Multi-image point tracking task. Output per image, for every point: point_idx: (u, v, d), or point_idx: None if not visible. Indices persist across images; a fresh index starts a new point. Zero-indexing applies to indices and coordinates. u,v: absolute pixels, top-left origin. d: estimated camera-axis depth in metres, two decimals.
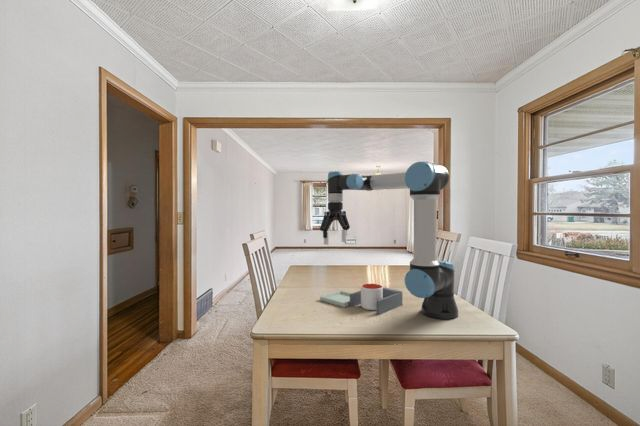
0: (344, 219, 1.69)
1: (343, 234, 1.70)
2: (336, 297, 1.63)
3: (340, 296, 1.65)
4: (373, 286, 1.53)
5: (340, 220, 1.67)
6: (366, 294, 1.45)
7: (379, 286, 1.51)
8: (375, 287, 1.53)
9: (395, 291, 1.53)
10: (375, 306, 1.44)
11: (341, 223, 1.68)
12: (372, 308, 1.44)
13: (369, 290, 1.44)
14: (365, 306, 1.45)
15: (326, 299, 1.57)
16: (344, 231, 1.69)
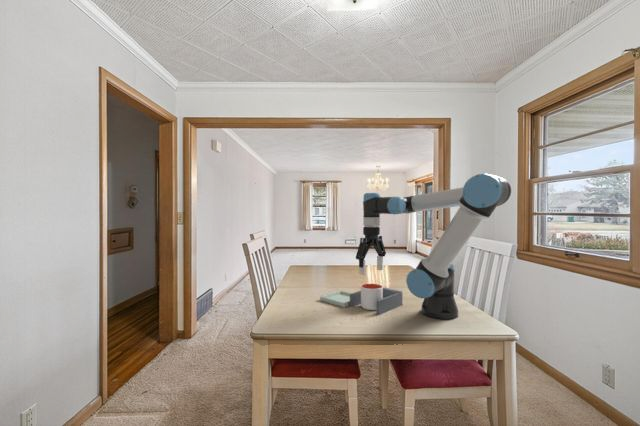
0: (380, 245, 1.53)
1: (379, 261, 1.53)
2: (336, 297, 1.63)
3: (340, 296, 1.65)
4: (373, 286, 1.53)
5: (376, 246, 1.50)
6: (366, 294, 1.45)
7: (379, 286, 1.51)
8: (375, 287, 1.53)
9: (395, 291, 1.53)
10: (375, 306, 1.44)
11: (377, 249, 1.51)
12: (372, 308, 1.44)
13: (369, 290, 1.44)
14: (365, 306, 1.45)
15: (326, 299, 1.57)
16: (380, 258, 1.52)
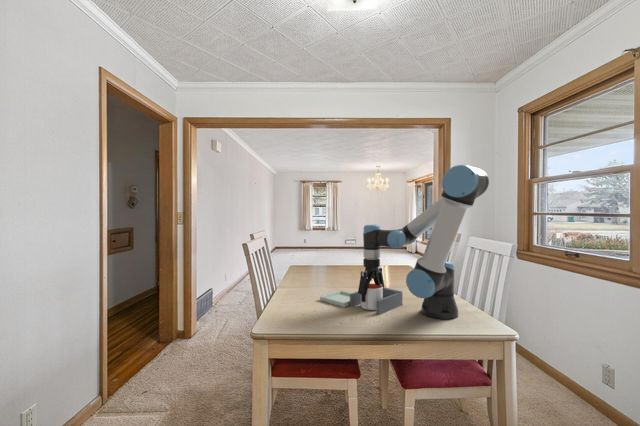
0: (379, 277, 1.53)
1: None
2: (336, 297, 1.63)
3: (340, 296, 1.65)
4: (373, 286, 1.53)
5: (376, 278, 1.50)
6: None
7: (379, 286, 1.51)
8: (375, 287, 1.53)
9: (395, 291, 1.53)
10: (375, 306, 1.44)
11: (376, 282, 1.51)
12: (372, 308, 1.44)
13: (369, 290, 1.44)
14: None
15: (326, 299, 1.57)
16: None
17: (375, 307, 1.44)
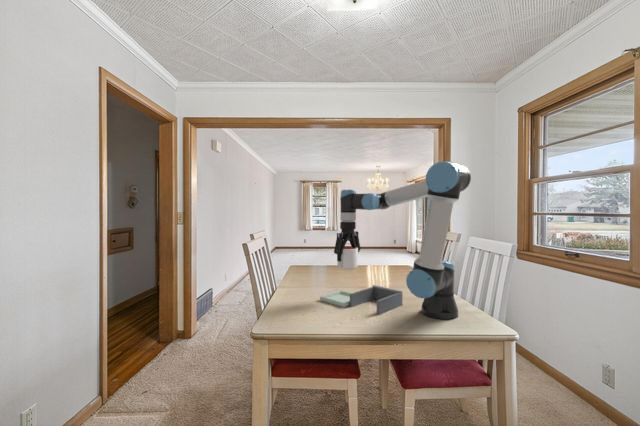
0: (356, 240, 1.61)
1: None
2: (336, 297, 1.63)
3: (340, 296, 1.65)
4: (350, 248, 1.62)
5: (352, 241, 1.59)
6: (342, 254, 1.54)
7: (355, 248, 1.60)
8: None
9: (395, 291, 1.53)
10: (350, 265, 1.53)
11: (352, 244, 1.60)
12: (347, 267, 1.53)
13: (344, 250, 1.53)
14: None
15: (326, 299, 1.57)
16: None
17: (350, 266, 1.53)
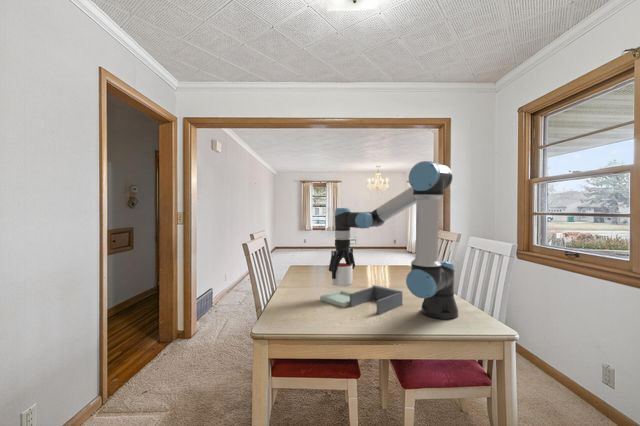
0: (350, 257, 1.64)
1: None
2: (336, 297, 1.63)
3: (340, 296, 1.65)
4: (344, 265, 1.64)
5: (346, 258, 1.61)
6: None
7: (350, 265, 1.62)
8: (346, 266, 1.64)
9: (395, 291, 1.53)
10: (344, 283, 1.55)
11: (347, 261, 1.62)
12: (342, 284, 1.55)
13: (339, 268, 1.55)
14: None
15: (326, 299, 1.57)
16: None
17: (344, 284, 1.55)
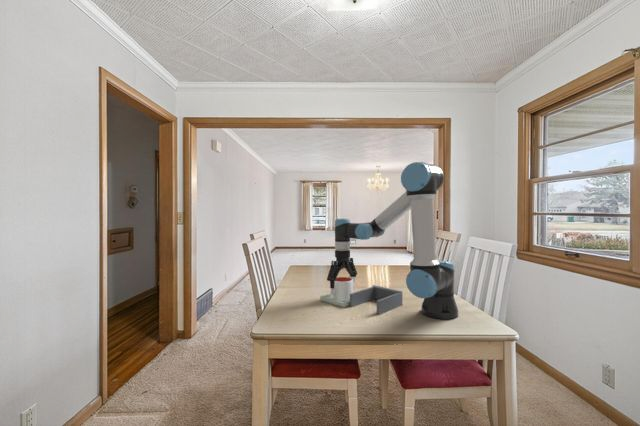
0: (351, 266, 1.64)
1: None
2: None
3: None
4: (345, 279, 1.64)
5: (347, 268, 1.62)
6: (337, 286, 1.56)
7: (350, 279, 1.62)
8: (346, 280, 1.64)
9: (395, 291, 1.53)
10: (345, 297, 1.55)
11: (348, 270, 1.63)
12: (342, 299, 1.55)
13: (339, 283, 1.55)
14: (336, 297, 1.57)
15: (326, 299, 1.57)
16: (351, 278, 1.64)
17: (345, 298, 1.55)
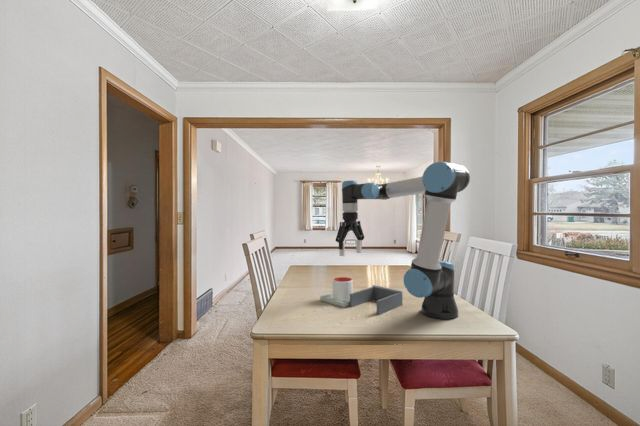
0: (359, 229, 1.65)
1: (358, 245, 1.65)
2: None
3: None
4: (345, 279, 1.64)
5: (355, 230, 1.62)
6: (337, 286, 1.56)
7: (350, 279, 1.62)
8: (346, 280, 1.64)
9: (395, 291, 1.53)
10: (345, 297, 1.55)
11: (356, 233, 1.63)
12: (342, 299, 1.55)
13: (339, 283, 1.55)
14: (336, 297, 1.57)
15: (326, 299, 1.57)
16: (359, 241, 1.64)
17: (345, 298, 1.55)
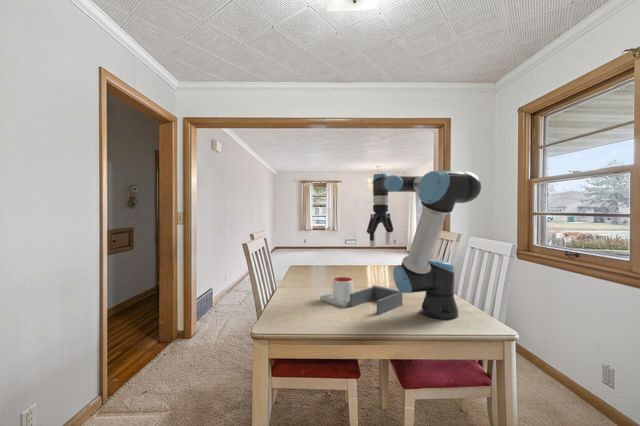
0: (388, 221, 1.68)
1: (387, 236, 1.68)
2: None
3: None
4: (345, 279, 1.64)
5: (385, 222, 1.65)
6: (337, 286, 1.56)
7: (350, 279, 1.62)
8: (346, 280, 1.64)
9: (395, 291, 1.53)
10: (345, 297, 1.55)
11: (385, 225, 1.67)
12: (342, 299, 1.55)
13: (339, 283, 1.55)
14: (336, 297, 1.57)
15: (326, 299, 1.57)
16: (388, 233, 1.68)
17: (345, 298, 1.55)
